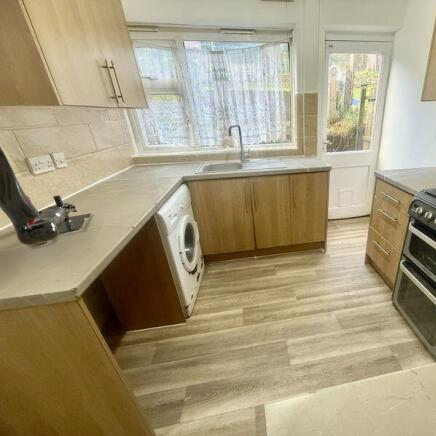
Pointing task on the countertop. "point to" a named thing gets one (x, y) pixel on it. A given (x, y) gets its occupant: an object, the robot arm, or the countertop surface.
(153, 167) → the countertop surface
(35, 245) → the dock
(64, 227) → the tablet
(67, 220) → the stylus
